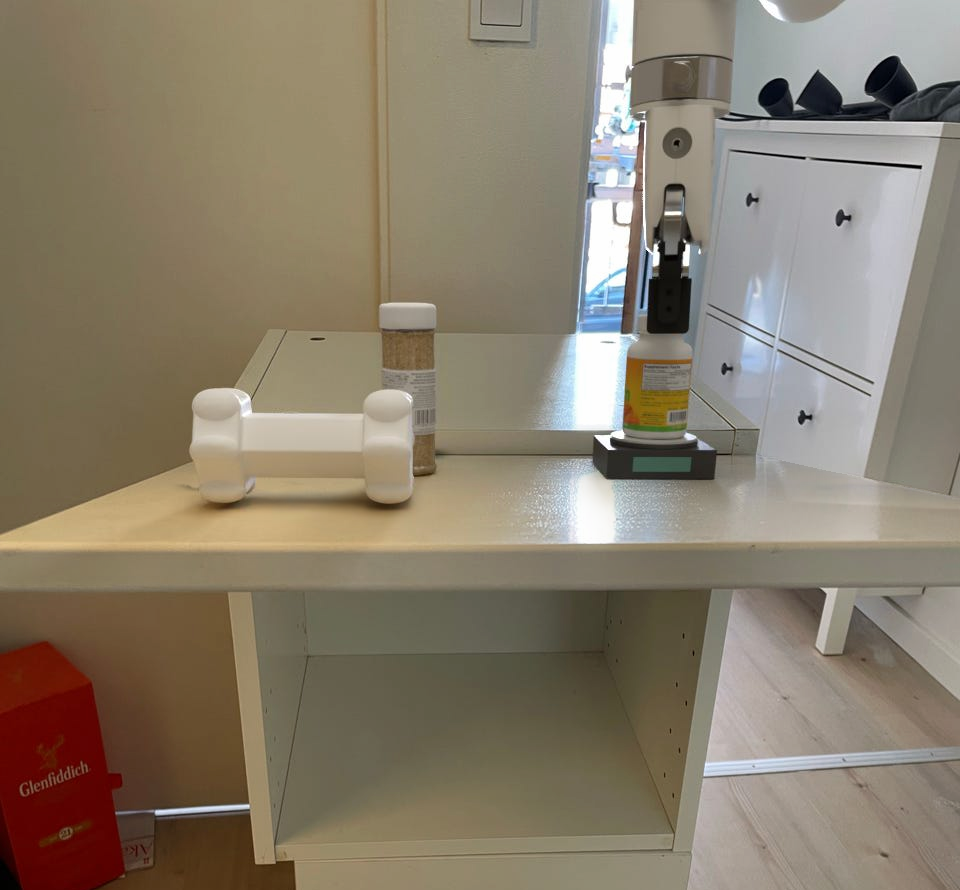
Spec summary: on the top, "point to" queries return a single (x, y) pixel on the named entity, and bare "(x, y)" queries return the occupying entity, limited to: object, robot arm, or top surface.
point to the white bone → (301, 445)
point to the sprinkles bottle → (412, 371)
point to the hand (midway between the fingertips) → (668, 330)
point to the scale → (653, 457)
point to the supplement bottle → (657, 385)
